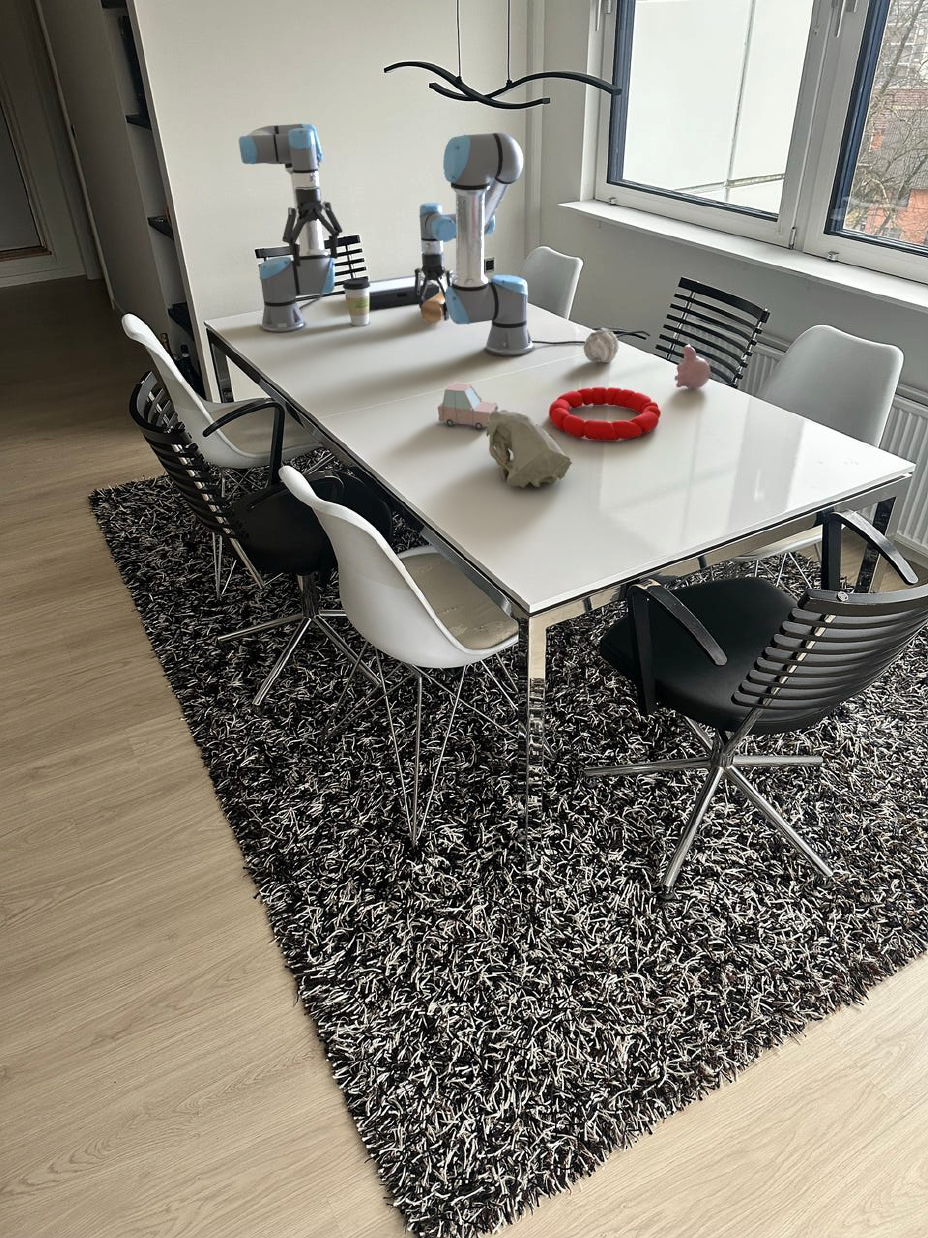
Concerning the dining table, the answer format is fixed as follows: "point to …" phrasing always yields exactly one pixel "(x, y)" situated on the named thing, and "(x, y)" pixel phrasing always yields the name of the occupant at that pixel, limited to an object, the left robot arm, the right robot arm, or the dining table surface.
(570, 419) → the decorative ring
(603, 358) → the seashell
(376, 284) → the electronic device
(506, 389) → the dining table surface
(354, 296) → the coffee cup
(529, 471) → the grey irregular stone chunk
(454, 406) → the toy car
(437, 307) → the brown cylinder
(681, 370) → the figurine
